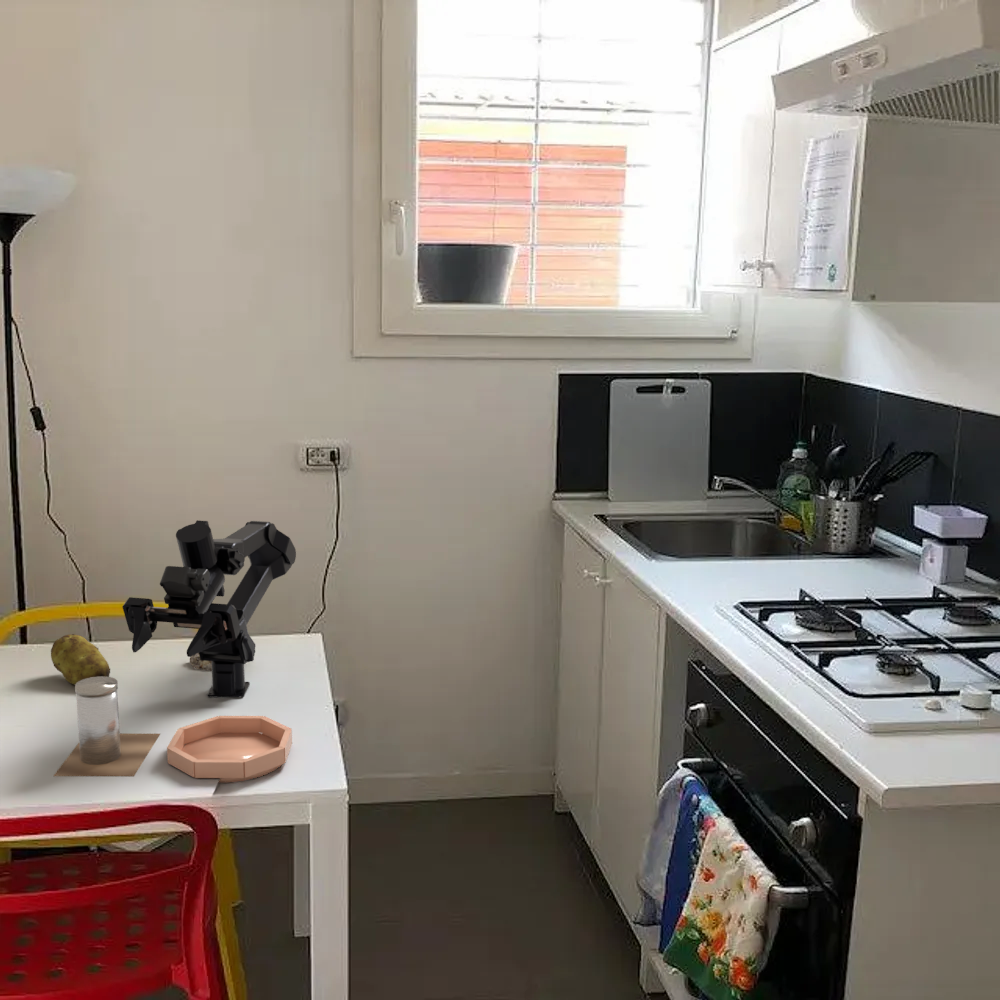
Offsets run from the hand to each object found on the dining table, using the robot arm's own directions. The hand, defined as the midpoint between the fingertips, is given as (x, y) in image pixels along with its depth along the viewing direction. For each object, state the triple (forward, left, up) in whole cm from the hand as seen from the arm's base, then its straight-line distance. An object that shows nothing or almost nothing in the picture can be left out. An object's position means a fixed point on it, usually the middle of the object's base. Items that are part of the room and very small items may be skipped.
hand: (160, 652), depth 192 cm
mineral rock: (-40, 0, -17) cm, 43 cm away
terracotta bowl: (+4, +11, -16) cm, 20 cm away
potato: (-30, -23, -16) cm, 41 cm away
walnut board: (+4, -8, -16) cm, 18 cm away
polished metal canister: (+5, -9, -15) cm, 18 cm away
